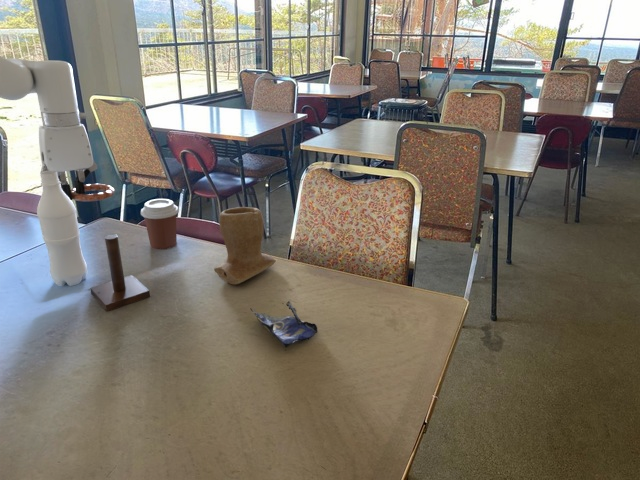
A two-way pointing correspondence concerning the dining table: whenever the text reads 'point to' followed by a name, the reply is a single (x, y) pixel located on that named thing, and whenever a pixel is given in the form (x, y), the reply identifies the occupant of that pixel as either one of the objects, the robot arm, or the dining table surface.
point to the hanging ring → (93, 197)
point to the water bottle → (60, 232)
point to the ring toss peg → (118, 281)
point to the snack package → (287, 327)
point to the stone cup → (242, 244)
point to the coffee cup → (160, 222)
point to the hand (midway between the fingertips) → (74, 197)
